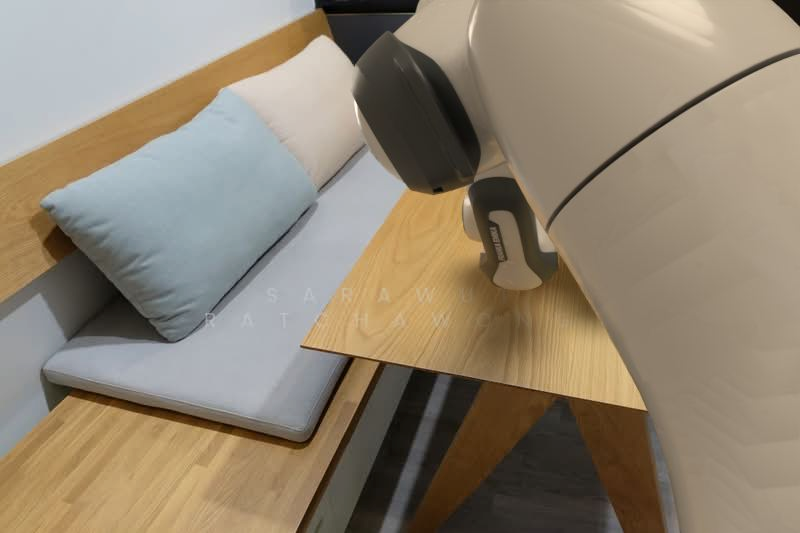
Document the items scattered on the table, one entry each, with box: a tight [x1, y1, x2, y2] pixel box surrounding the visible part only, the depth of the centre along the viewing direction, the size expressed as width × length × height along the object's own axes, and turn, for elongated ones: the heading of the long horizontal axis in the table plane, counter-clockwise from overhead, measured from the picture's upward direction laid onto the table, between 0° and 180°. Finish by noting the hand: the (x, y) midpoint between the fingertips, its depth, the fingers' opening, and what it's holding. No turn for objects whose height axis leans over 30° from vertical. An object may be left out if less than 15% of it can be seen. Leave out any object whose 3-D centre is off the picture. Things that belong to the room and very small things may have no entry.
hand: (676, 218), depth 74 cm, fingers open, 8 cm apart
